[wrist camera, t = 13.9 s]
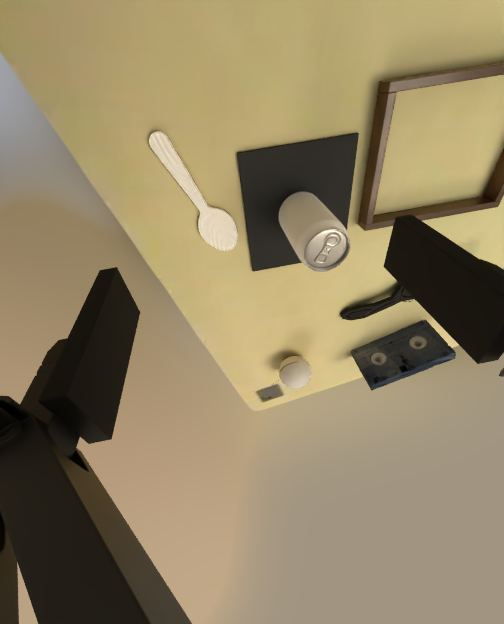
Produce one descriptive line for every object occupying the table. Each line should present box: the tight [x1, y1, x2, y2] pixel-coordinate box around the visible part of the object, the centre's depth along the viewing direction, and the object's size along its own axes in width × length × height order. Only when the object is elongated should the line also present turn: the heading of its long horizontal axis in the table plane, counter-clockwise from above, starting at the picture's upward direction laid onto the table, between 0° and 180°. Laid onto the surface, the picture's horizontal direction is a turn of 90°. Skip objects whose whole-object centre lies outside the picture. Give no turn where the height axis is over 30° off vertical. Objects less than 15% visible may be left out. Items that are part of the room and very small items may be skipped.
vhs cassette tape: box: [351, 320, 456, 390], centre depth 62 cm, size 18×3×10 cm, turn 115°
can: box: [279, 192, 350, 272], centre depth 37 cm, size 6×6×12 cm
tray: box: [358, 62, 504, 231], centre depth 38 cm, size 18×22×2 cm
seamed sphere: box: [273, 356, 312, 389], centre depth 63 cm, size 10×7×7 cm
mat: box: [237, 133, 359, 271], centre depth 42 cm, size 18×16×1 cm
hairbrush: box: [340, 284, 415, 320], centre depth 55 cm, size 8×4×25 cm
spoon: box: [149, 131, 238, 252], centre depth 38 cm, size 5×18×1 cm, turn 28°
